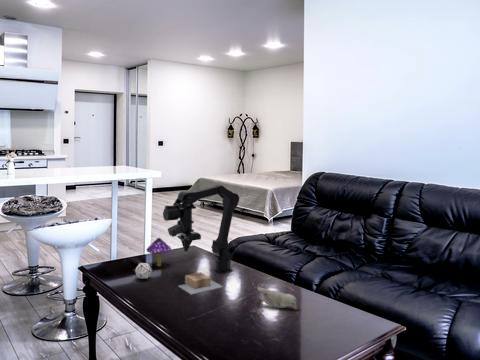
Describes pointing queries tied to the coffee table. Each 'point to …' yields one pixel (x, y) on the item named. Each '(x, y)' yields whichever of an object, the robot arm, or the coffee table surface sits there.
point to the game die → (143, 270)
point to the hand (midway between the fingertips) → (185, 251)
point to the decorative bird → (277, 299)
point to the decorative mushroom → (158, 249)
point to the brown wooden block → (197, 280)
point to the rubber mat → (199, 290)
